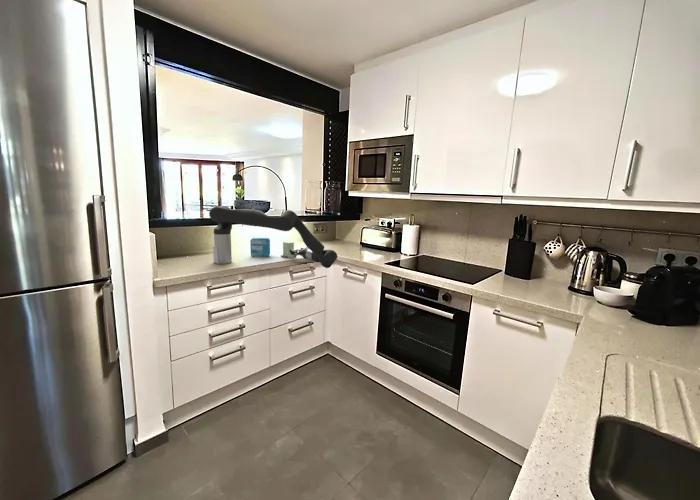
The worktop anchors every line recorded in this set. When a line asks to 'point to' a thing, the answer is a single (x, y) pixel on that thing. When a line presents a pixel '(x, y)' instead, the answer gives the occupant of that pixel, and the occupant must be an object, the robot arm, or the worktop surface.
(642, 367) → the worktop surface
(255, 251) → the data package
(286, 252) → the sage block
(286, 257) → the chute
